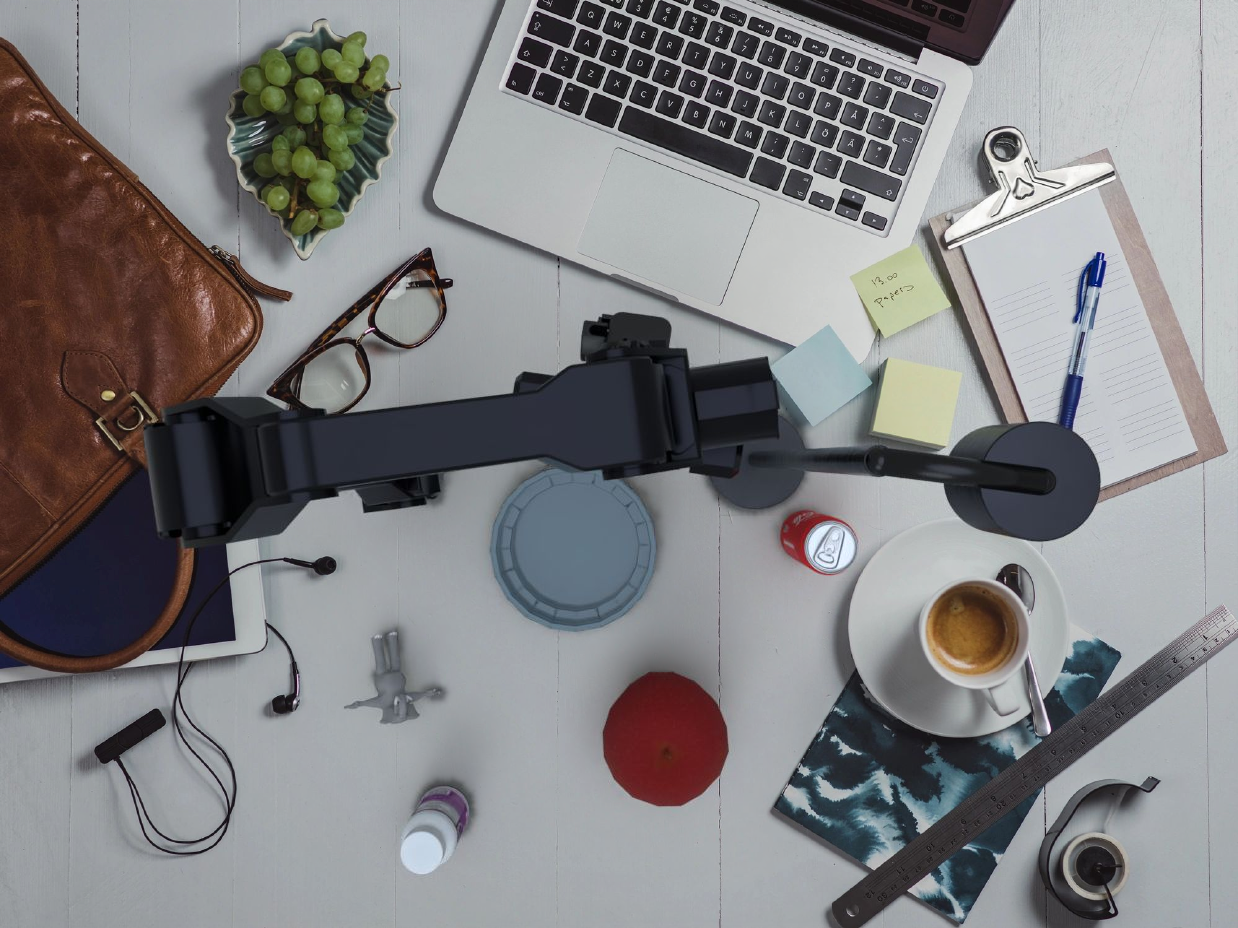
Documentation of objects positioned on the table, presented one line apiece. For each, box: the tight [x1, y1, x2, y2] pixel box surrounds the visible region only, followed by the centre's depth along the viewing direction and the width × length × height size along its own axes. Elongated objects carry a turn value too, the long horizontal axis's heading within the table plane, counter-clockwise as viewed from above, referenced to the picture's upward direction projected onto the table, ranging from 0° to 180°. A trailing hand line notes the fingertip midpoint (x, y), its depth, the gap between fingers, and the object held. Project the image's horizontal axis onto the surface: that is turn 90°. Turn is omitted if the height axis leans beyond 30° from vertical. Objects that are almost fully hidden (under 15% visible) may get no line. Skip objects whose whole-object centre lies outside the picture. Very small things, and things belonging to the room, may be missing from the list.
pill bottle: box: [399, 785, 470, 875], centre depth 82 cm, size 5×5×10 cm
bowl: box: [489, 467, 658, 633], centre depth 84 cm, size 16×16×4 cm
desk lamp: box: [708, 414, 1102, 543], centre depth 63 cm, size 16×10×45 cm, turn 83°
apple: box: [602, 671, 730, 808], centre depth 79 cm, size 12×12×13 cm
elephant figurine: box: [343, 631, 441, 725], centre depth 84 cm, size 10×6×9 cm
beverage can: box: [779, 509, 859, 576], centre depth 80 cm, size 5×5×12 cm
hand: (628, 428), depth 76 cm, fingers closed on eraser, 3 cm apart
